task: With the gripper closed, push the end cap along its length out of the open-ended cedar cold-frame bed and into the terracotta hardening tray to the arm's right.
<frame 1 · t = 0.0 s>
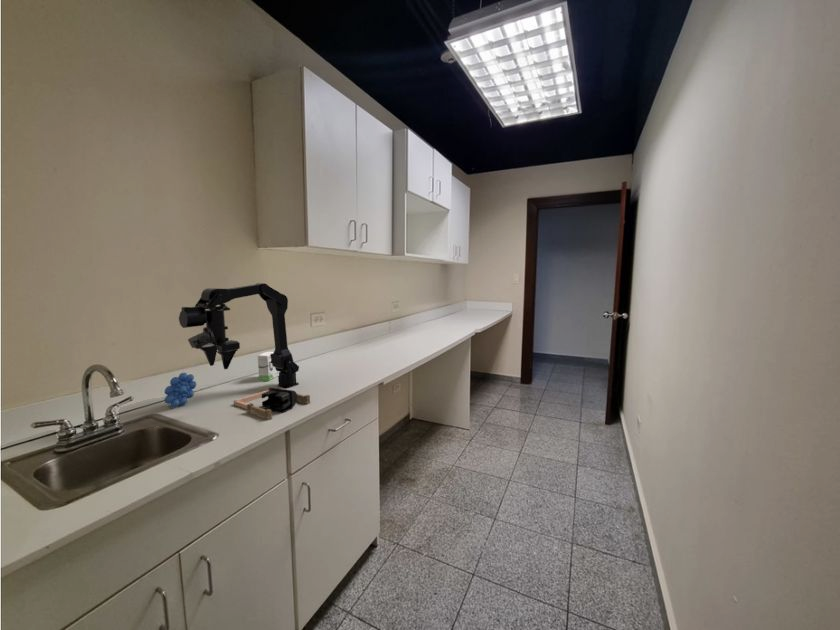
hand: (218, 367, 123), 15 cm above the worktop, fingers open, 9 cm apart
ink box: (269, 378, 159), on the worktop
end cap: (280, 408, 124), on the worktop
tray: (261, 401, 130), on the worktop
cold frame: (279, 407, 124), on the worktop
grapes: (180, 405, 127), on the worktop
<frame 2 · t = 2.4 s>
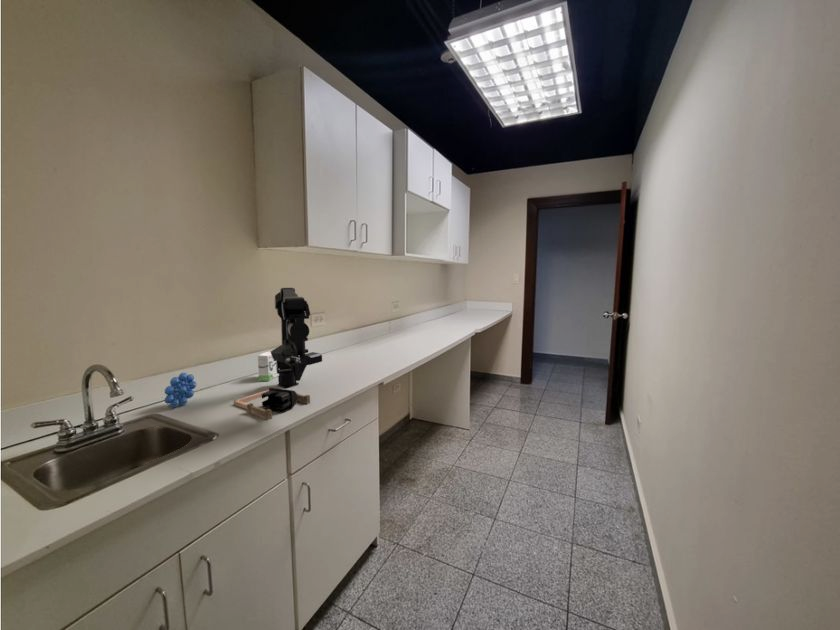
hand: (297, 380, 117), 12 cm above the worktop, fingers closed
nothing on the worktop moved.
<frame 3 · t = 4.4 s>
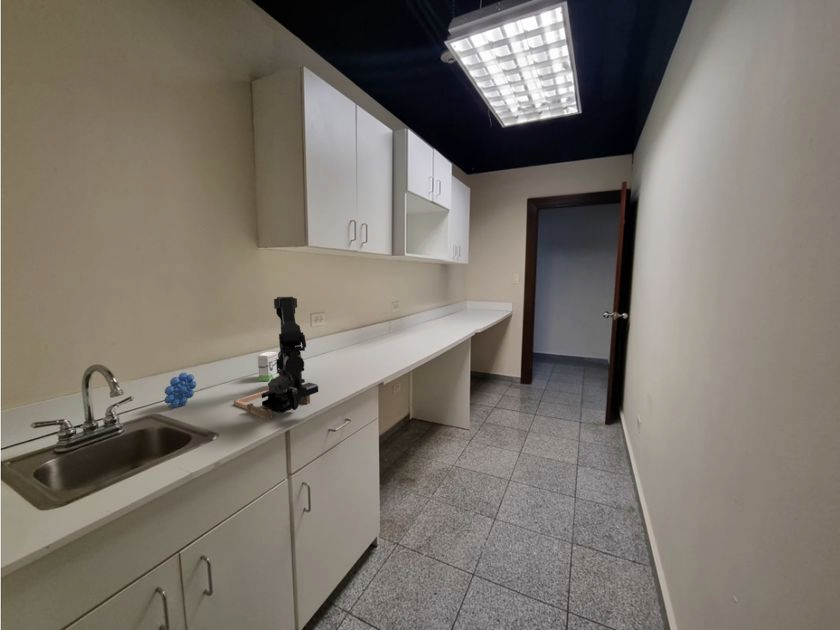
hand: (294, 409, 120), 1 cm above the worktop, fingers closed
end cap: (279, 408, 124), on the worktop, touching gripper
everything else where it was.
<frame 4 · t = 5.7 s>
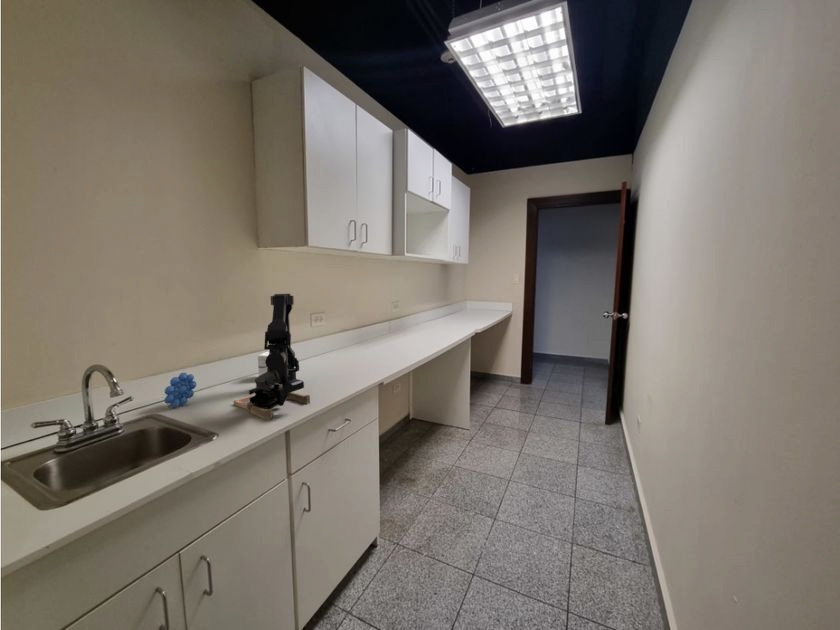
hand: (281, 405, 123), 1 cm above the worktop, fingers closed
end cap: (267, 404, 127), on the worktop, touching gripper
everything else where it was.
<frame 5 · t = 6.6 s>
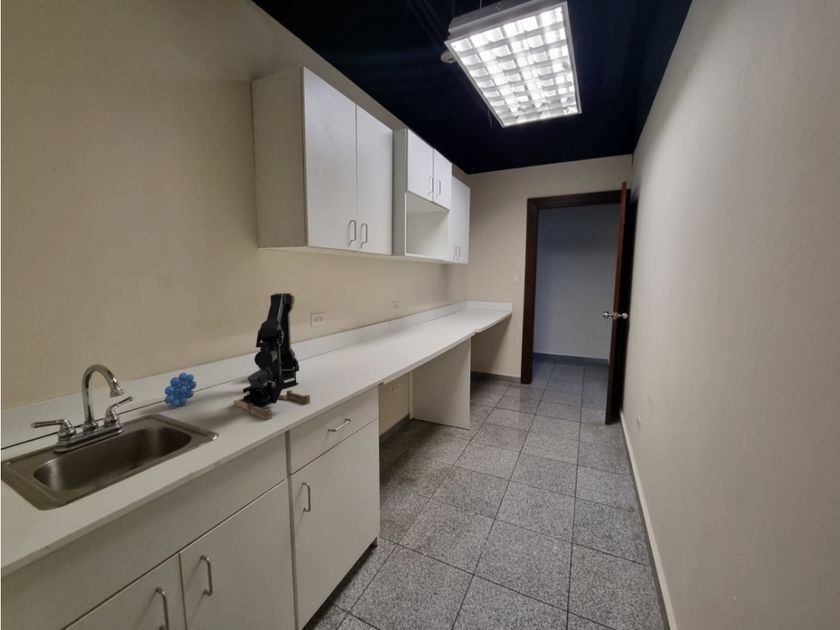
hand: (274, 403, 125), 1 cm above the worktop, fingers closed
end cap: (261, 402, 129), on the worktop, touching gripper, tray
everything else where it was.
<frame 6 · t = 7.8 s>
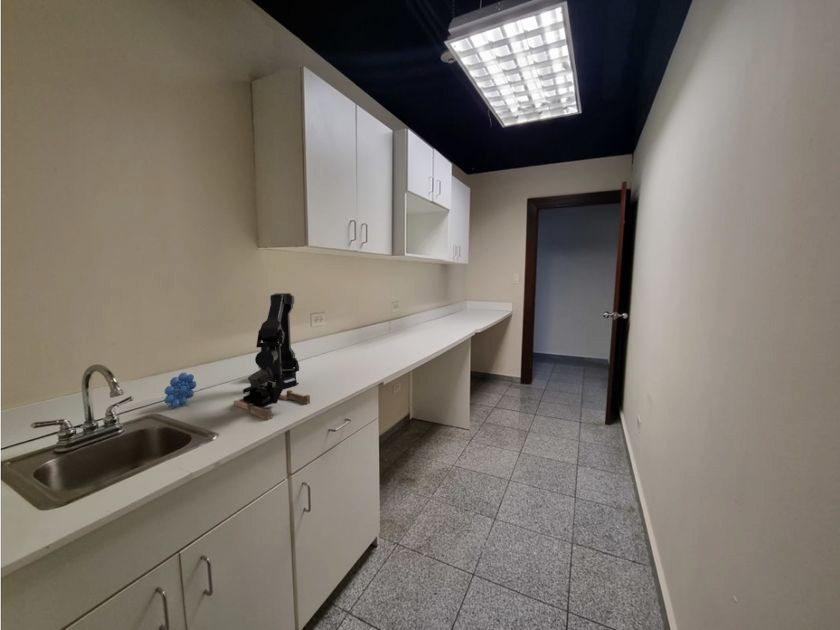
hand: (274, 403, 125), 1 cm above the worktop, fingers closed
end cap: (261, 403, 129), on the worktop
everything else where it was.
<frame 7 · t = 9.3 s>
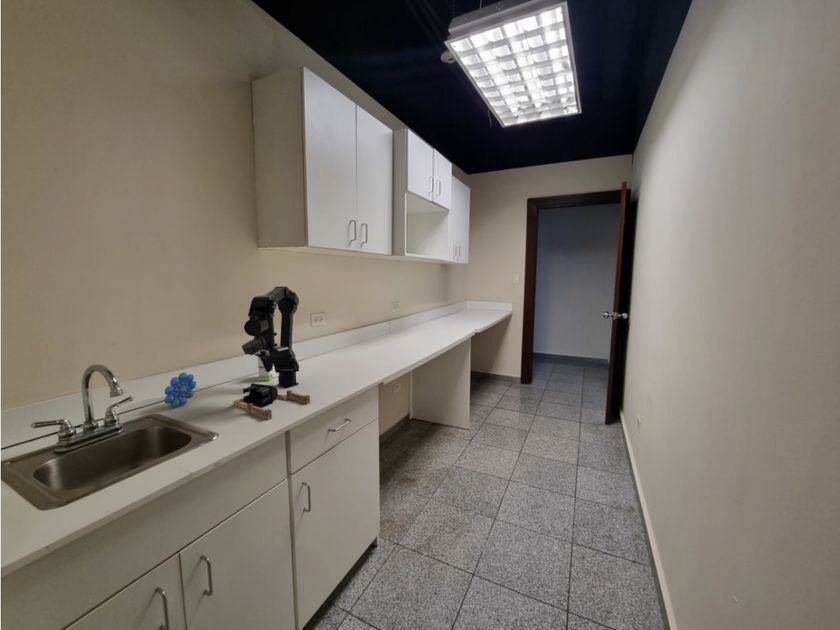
hand: (268, 371, 128), 12 cm above the worktop, fingers closed
nothing on the worktop moved.
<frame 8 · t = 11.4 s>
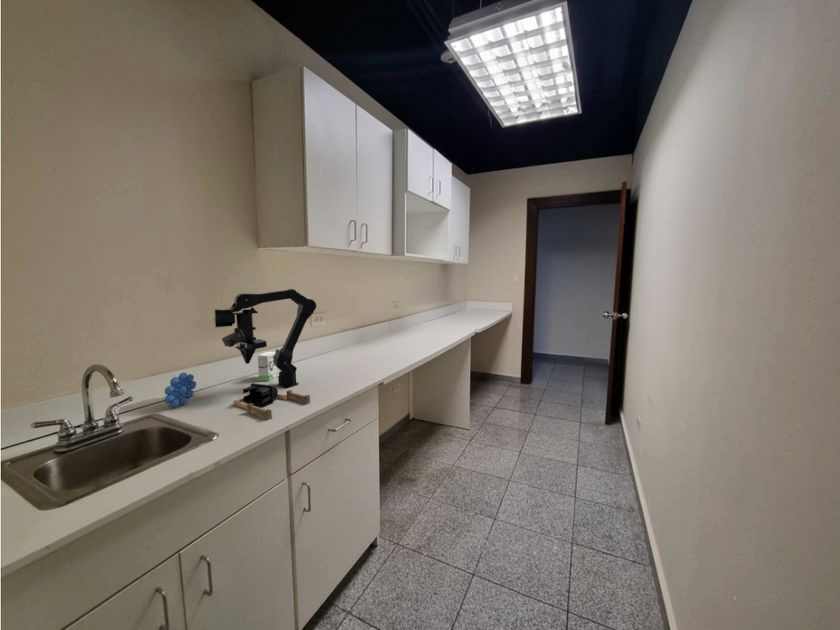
hand: (247, 363, 139), 12 cm above the worktop, fingers closed
nothing on the worktop moved.
at the end: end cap inside the target area (0.5 cm from its centre), on the worktop; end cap moved 10.6 cm from its start; the gripper is holding nothing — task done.
